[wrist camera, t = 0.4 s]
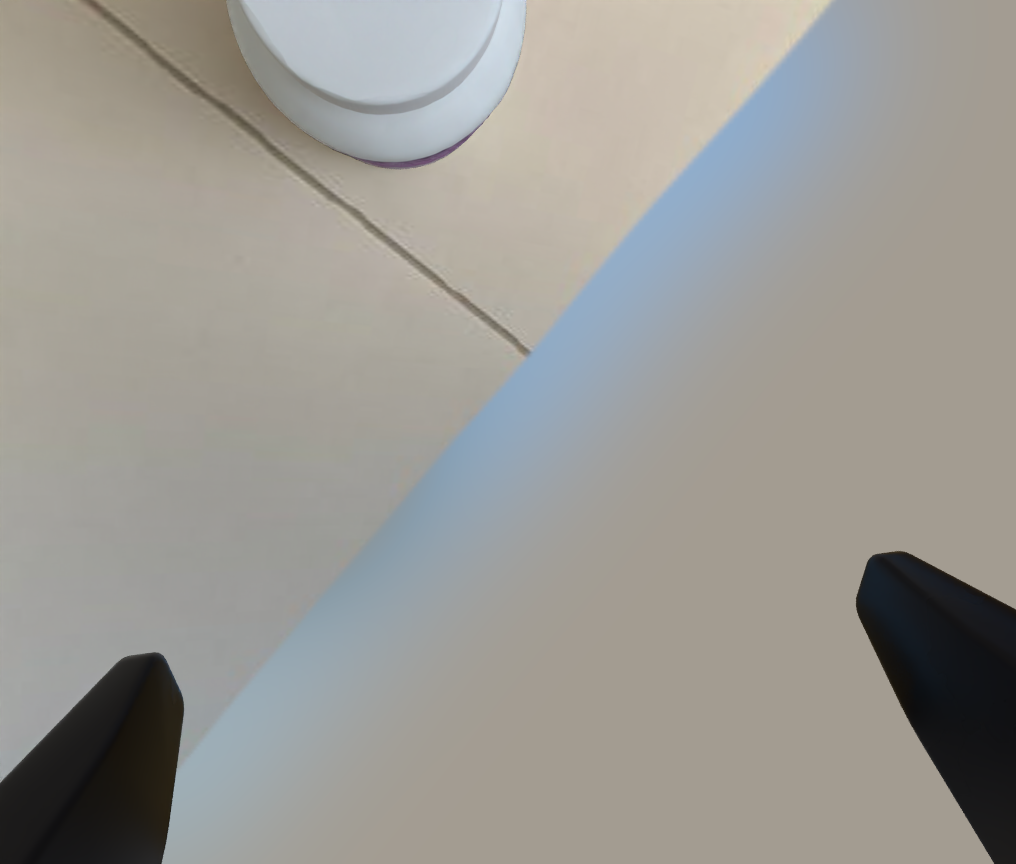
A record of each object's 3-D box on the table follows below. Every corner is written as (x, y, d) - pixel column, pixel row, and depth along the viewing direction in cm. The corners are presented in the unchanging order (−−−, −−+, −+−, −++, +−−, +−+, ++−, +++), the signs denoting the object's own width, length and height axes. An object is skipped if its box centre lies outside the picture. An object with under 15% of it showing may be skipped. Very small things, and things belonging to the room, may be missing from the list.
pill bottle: (529, 30, 19) (633, -111, 10) (432, 206, 20) (444, 225, 11) (347, -103, 17) (274, -413, 8) (254, 95, 19) (103, 13, 10)
